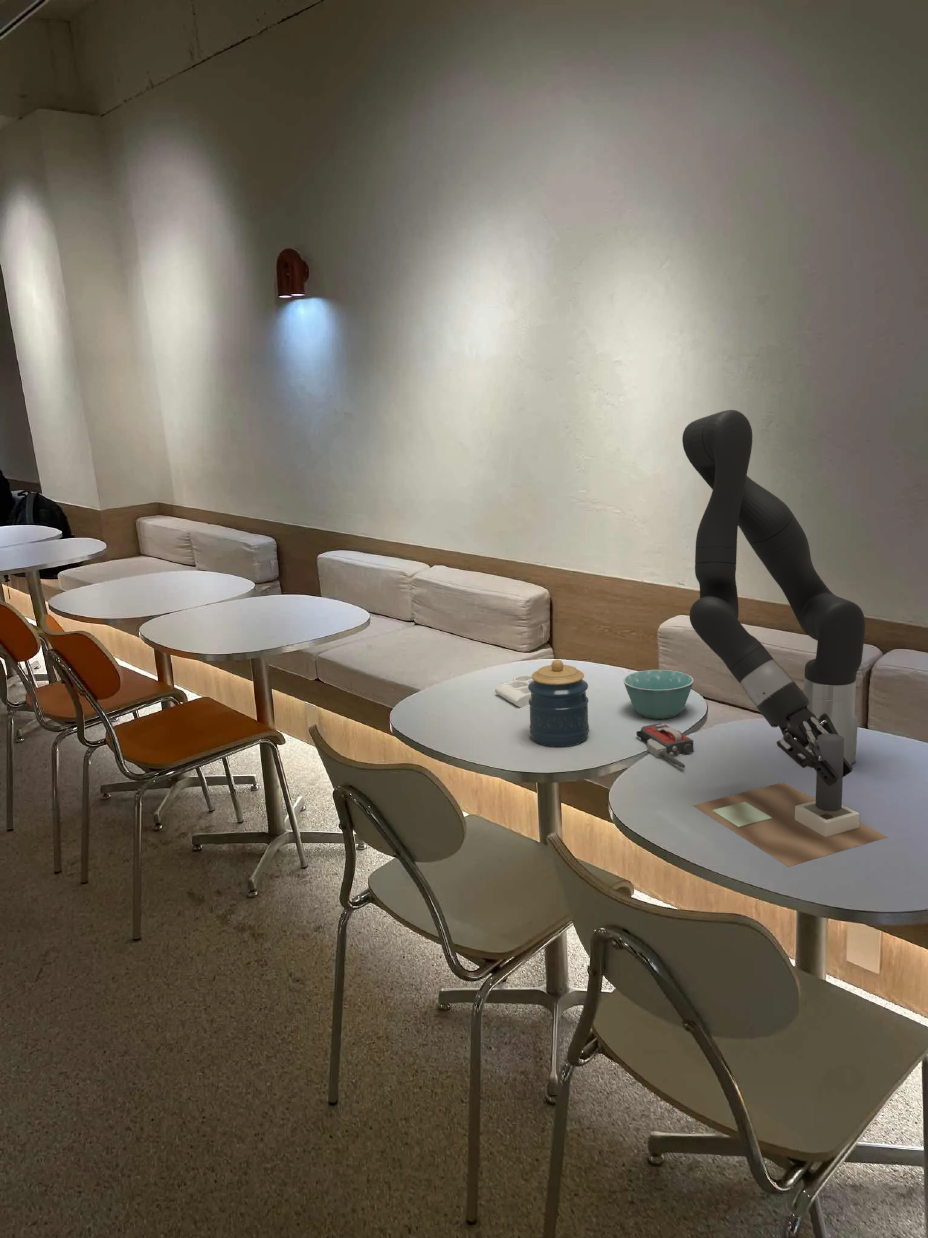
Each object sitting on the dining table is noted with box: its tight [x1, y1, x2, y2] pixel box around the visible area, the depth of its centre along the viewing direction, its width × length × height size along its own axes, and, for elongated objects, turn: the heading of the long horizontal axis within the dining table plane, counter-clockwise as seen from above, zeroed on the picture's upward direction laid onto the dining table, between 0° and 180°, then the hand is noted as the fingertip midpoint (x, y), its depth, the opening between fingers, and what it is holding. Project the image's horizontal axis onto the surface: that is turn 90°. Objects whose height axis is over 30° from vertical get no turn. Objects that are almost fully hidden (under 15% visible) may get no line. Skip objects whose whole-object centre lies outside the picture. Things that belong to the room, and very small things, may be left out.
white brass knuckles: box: [494, 674, 533, 708], centre depth 225 cm, size 3×18×15 cm
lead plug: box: [815, 734, 844, 811], centre depth 147 cm, size 4×4×12 cm
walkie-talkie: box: [636, 722, 694, 769], centre depth 186 cm, size 9×4×20 cm
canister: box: [528, 659, 590, 748], centre depth 195 cm, size 13×13×18 cm
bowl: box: [623, 669, 695, 720], centre depth 208 cm, size 16×16×8 cm
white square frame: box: [795, 801, 861, 837], centre depth 149 cm, size 7×7×2 cm
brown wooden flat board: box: [692, 782, 888, 868], centre depth 151 cm, size 20×24×2 cm
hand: (841, 778), depth 146 cm, fingers closed on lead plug, 4 cm apart
